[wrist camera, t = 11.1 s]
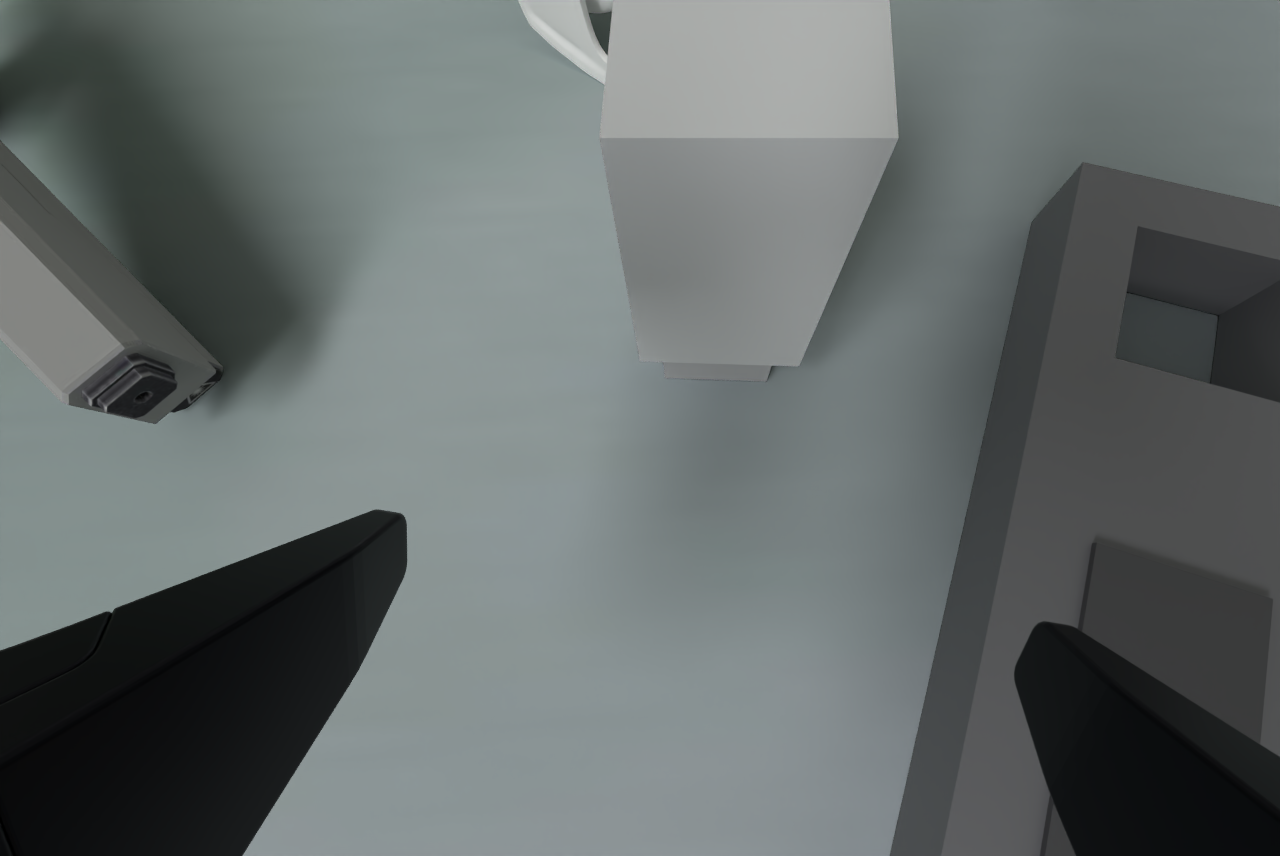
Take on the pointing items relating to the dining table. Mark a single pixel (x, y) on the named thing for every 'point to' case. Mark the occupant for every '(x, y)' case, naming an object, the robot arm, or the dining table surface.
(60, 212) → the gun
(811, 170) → the plain gray block
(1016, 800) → the power strip
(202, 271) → the dining table surface
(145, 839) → the robot arm
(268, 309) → the dining table surface
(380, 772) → the dining table surface
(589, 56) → the headset
